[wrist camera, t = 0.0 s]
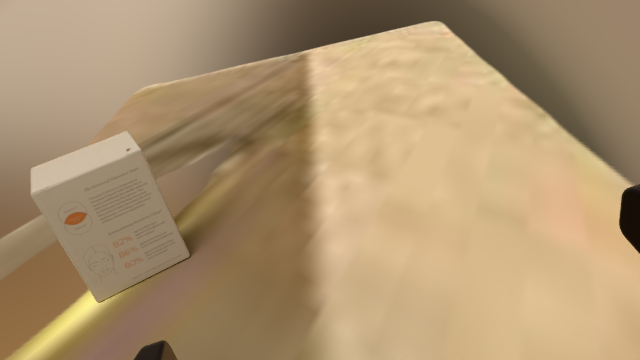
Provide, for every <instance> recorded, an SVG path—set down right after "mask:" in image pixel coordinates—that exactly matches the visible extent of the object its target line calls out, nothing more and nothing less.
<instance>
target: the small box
mask: <svg viewBox="0 0 640 360" xmlns="http://www.w3.org/2000/svg"><path fill="white" fill-rule="evenodd" d="M31 196H32V198H33V200H34V201H35V203H36V204H37V206H38V208H39V209H40V211H41V212H42V214H43V216H44V217H45V219H46V220H47V222H48V224H49V225H50V227H51V229H52V230H53V232H54V233H55V235H56V237H57V238H58V240H59V242H60V243H61V245H62V247H63V248H64V250H65V251H66V253H67V255H68V256H69V258H70V259H71V261H72V263H73V264H74V266H75V267H76V269H77V271H78V272H79V274H80V276H81V277H82V279H83V280H84V282H85V283H86V285H87V287H88V288H89V290H90V292H91V293H92V295H93V297H94V298H95V300H96V301H97V302H101V301H103V300H105V299H107V298H109V297H111V296H113V295H115V294H117V293H119V292H121V291H123V290H125V289H127V288H129V287H131V286H133V285H135V284H137V283H139V282H141V281H143V280H145V279H147V278H149V277H151V276H153V275H155V274H157V273H159V272H161V271H163V270H165V269H167V268H169V267H171V266H173V265H175V264H177V263H178V262H180V261H182V260H184V259H186V258H188V257H190V253H189V251H188V249H187V247H186V244H185V242H184V240H183V238H182V236H181V234H180V232H179V229H178V227H177V225H176V223H175V221H174V219H173V216H172V214H171V212H170V210H169V208H168V206H167V203H166V201H165V199H164V197H163V195H162V193H161V190H160V188H159V186H158V184H157V182H156V179H155V177H154V175H153V173H152V170H151V168H150V166H149V164H148V162H147V160H146V157H145V155H144V153H143V151H142V150H141V149H140V147H139V146H138V144H137V143H136V142H135V140H134V139H133V137H132V136H131V135H130V133H129V132H128V131H125V132H123V133H120V134H118V135H115V136H112V137H110V138H108V139H105V140H102V141H100V142H97V143H94V144H92V145H89V146H87V147H84V148H82V149H79V150H77V151H74V152H72V153H69V154H66V155H64V156H61V157H59V158H56V159H54V160H51V161H49V162H46V163H43V164H41V165H38V166H36V167H33V168H31Z"/></svg>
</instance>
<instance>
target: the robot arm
mask: <svg viewBox="0 0 640 360" xmlns="http://www.w3.org/2000/svg"><path fill="white" fill-rule="evenodd" d="M619 225H620V229H621V232H622V233H623V235H624V236H625V238H626V239H627V240H628V241H629V242H630V243H631V244H632V246H633V247H634V248H635V249H636V250H637V251H638V252H639V253H640V184H639V185H636V186H633V187H630V188H627V189H626V190H625V191H624V192H623V194H622V199H621V209H620V219H619ZM134 360H177V358H176V356H175V354H174V352H173V350H172V348H171V347H170V345H169V344H168V343H167V342H166V341H163V340H162V341H159V342H156V343H153V344H150V345H146V346H144V347H143V348H142V349H141V350H140V351H139V353H138V354H137V356H136V357H135V359H134Z"/></svg>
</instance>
